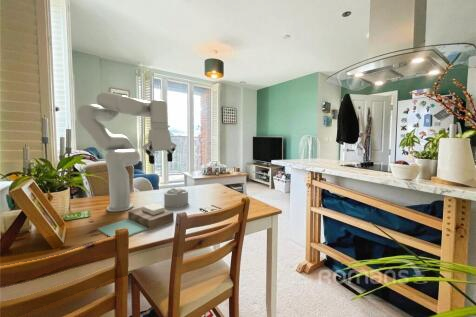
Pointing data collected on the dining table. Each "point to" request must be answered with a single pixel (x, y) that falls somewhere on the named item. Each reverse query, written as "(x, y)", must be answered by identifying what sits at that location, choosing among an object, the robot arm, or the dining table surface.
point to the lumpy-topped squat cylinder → (175, 197)
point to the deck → (150, 218)
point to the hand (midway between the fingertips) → (161, 162)
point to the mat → (127, 223)
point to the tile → (153, 208)
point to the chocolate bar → (209, 208)
